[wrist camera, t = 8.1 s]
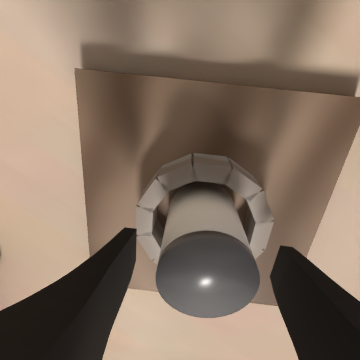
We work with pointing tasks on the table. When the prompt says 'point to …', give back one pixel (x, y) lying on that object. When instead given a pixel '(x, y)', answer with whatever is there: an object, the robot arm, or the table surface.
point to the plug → (205, 254)
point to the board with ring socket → (209, 159)
